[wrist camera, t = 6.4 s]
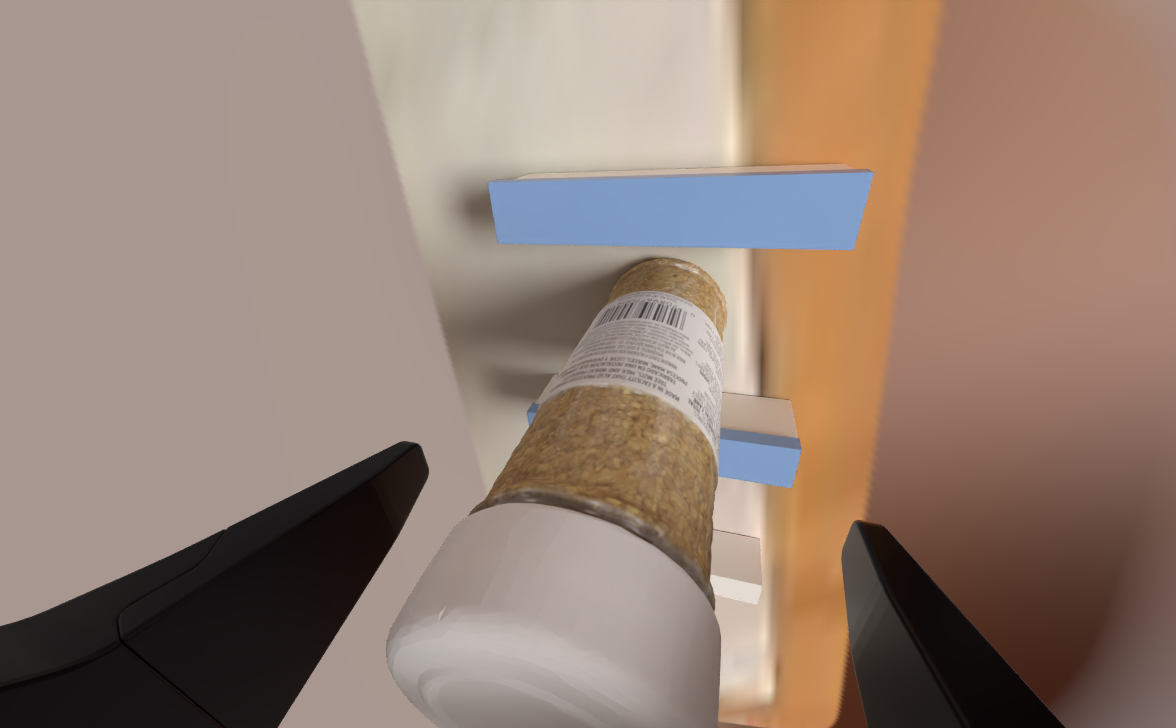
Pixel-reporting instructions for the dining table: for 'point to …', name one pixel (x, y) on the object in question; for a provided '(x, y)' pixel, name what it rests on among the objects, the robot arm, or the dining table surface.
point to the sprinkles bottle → (590, 538)
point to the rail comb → (701, 219)
